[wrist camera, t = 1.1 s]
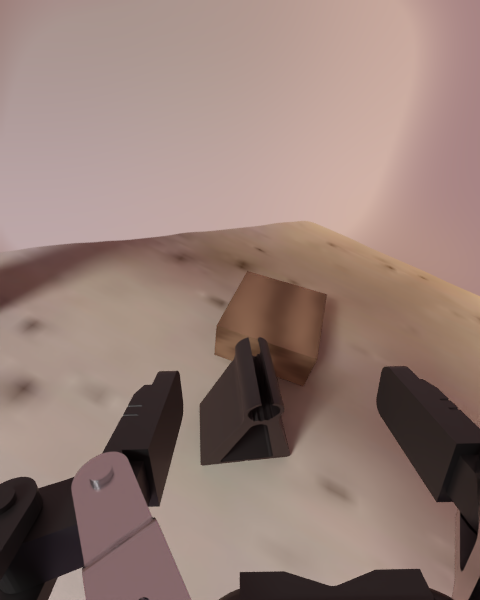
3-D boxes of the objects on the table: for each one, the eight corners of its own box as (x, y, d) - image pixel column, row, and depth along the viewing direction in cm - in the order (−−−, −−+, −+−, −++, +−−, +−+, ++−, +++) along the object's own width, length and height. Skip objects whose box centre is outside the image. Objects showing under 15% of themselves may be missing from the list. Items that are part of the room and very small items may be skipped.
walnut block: (214, 355, 36) (216, 325, 32) (242, 300, 45) (247, 271, 41) (302, 387, 34) (317, 359, 30) (314, 322, 43) (326, 294, 39)
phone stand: (276, 401, 32) (304, 335, 24) (289, 457, 28) (328, 400, 19) (199, 405, 30) (201, 337, 22) (200, 465, 26) (202, 408, 18)
